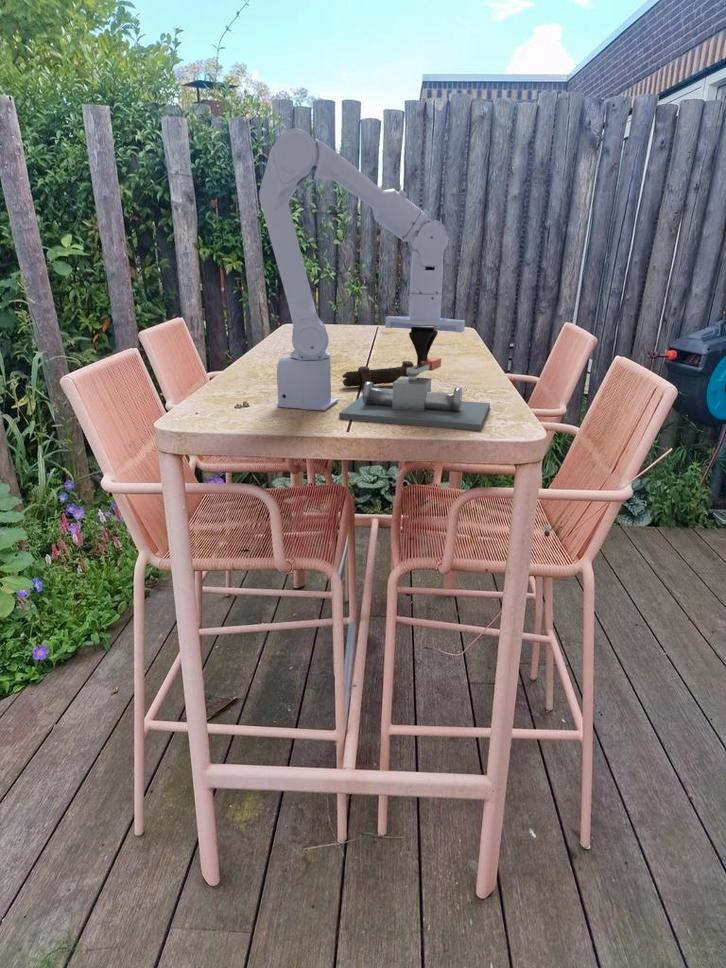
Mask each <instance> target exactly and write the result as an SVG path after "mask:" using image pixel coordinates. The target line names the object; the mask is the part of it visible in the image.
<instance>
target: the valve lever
mask: <svg viewBox="0 0 726 968" xmlns="http://www.w3.org/2000/svg"><path fill="white" fill-rule="evenodd" d="M441 367H442V358H441V357H434V356H432V357H431V356H430V357H427V359H424V360H422V361H421V363H420V364H418V365H417V364H415V365H414V366H413V367H409V368H407V371H406V374H407V375H412V376H414V375H417V376H419V375H420V374H422V373H424V372H426V371H430V372H431V371H432V372H433V371H435V370H437V369H439V368H441Z"/></svg>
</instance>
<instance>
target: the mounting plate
mask: <svg viewBox="0 0 726 968" xmlns="http://www.w3.org/2000/svg"><path fill="white" fill-rule="evenodd" d="M490 407H491V403H490V402H482V401H481V402H479V401H466V400H462V402H461V408H460V411H447V410H435V409H426V411H425V412H411V411H399V410H392V406H383V405H369V404H364V403H363V394H362V395H361V396H360V397H358V398H357V399H355V401H353V402H352V403H350V404H349V405H348V406H346V407H345V408H343V410H341V411H340V412H339V413H338V419H340V420H349V421H350V420H353V421H361V422H362V421H364V422H377V423H386V424H399V425H409V426H410V425H412V426H420V427H421V426H422V427H434V428H444V429H445V428H446V429H457V430H468V431H477V432H478V431H481V430H482V427H483V425H484V423H485V421H486V418H487V415H488V414H489V411H490V409H491V408H490Z"/></svg>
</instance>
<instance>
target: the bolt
mask: <svg viewBox="0 0 726 968" xmlns="http://www.w3.org/2000/svg"><path fill="white" fill-rule="evenodd" d="M413 366H415V365H414V362H412V361H410V360H404V361H403V360H402V363H401V366H396V367H386V368H377V369H375V368H374V369H370V367H368V366H359V368H358V370H355V371H354V370H353V371H346V372H345V373H344V374H343V375H342V378H343V380H342V384H343V385H344V387H346V388H347V387H349V388H350V387H352V388H353V387H359V388H360V389H363V387H364V384H365V382H373V384H374V386H375V385H384V384H393V382H395V381H396V380H397V379H398V378H399V377H409V375H407V374H406V371H407V368H409V367H413Z"/></svg>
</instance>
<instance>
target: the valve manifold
mask: <svg viewBox="0 0 726 968" xmlns="http://www.w3.org/2000/svg"><path fill="white" fill-rule="evenodd" d="M417 376H418V375H414V376H412V375H409V377H399V378H398V379H397V380H396V381H395V382H393V383H392V388H384V387H383V388H382V387H381V388H379V387H375V384H373V382H365V384H364V387H363V388H362V395H363V403H364V404H369V405H383V406H392V410H399V411H411V412H425V411H426V409H435V410H447V411H460V408H461V402H462V401H463V388H462V387H455V388H454V389H453V393H452V392H441V391H440V392H439V391H437V392H436V391H431V390H432V378H428V377H417Z"/></svg>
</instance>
